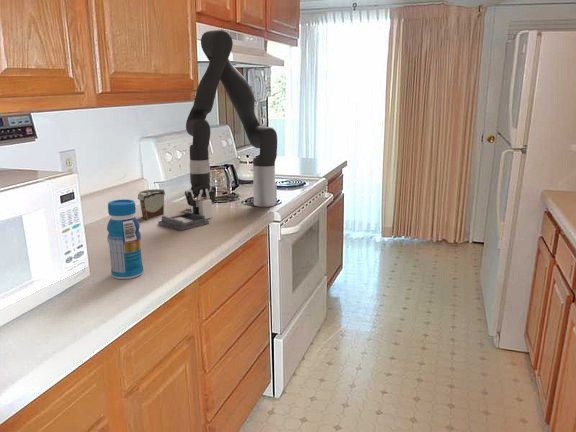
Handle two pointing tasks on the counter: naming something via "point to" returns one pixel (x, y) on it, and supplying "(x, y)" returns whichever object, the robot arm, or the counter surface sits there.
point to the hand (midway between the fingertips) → (201, 214)
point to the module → (204, 208)
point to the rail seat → (183, 221)
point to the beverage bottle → (124, 240)
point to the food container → (152, 203)
